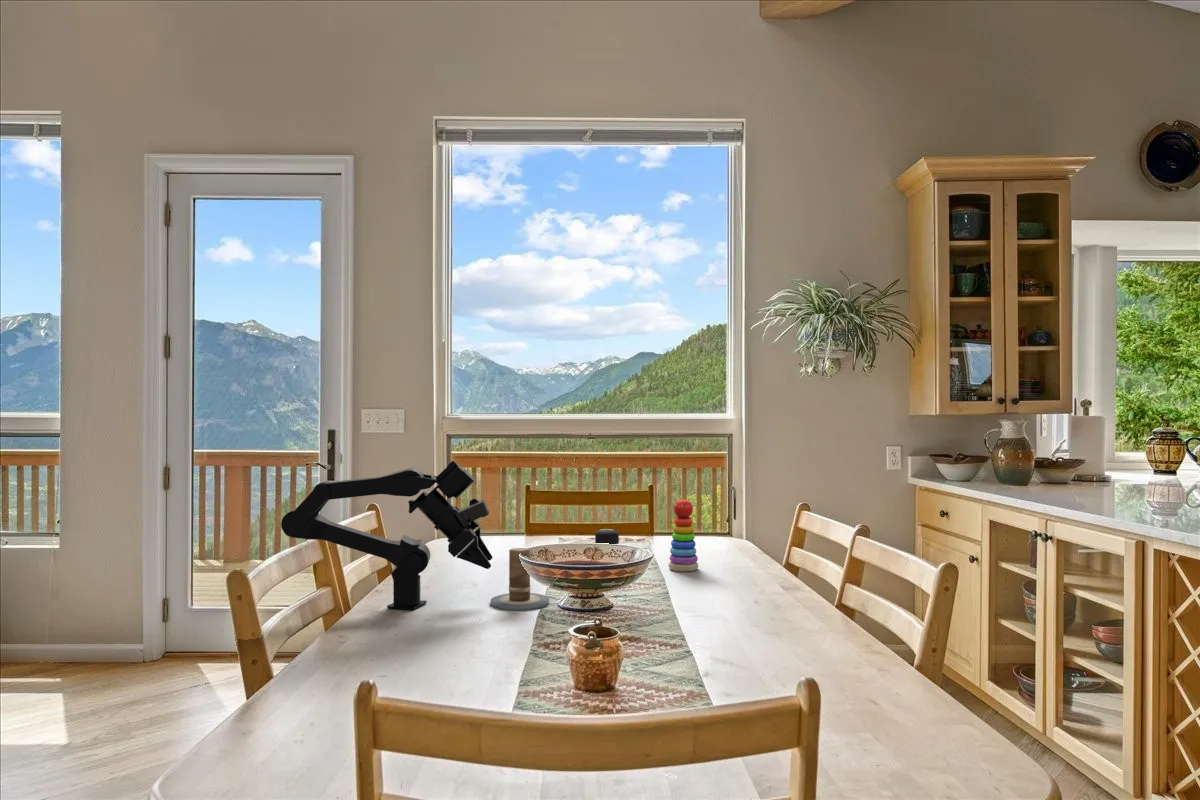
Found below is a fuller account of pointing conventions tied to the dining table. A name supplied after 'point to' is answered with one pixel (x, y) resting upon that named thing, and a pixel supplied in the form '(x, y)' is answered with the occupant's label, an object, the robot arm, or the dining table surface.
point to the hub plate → (506, 604)
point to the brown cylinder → (518, 576)
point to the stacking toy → (683, 539)
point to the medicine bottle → (607, 536)
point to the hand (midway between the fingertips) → (490, 563)
